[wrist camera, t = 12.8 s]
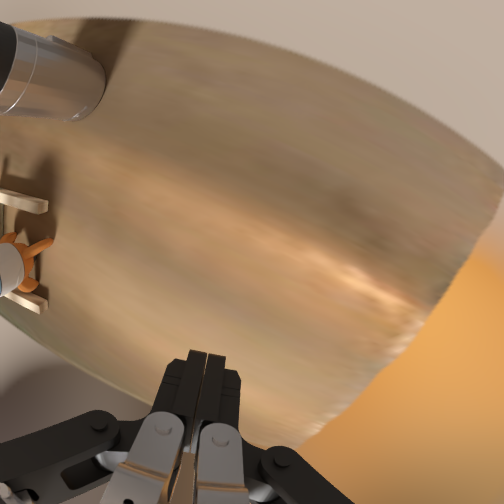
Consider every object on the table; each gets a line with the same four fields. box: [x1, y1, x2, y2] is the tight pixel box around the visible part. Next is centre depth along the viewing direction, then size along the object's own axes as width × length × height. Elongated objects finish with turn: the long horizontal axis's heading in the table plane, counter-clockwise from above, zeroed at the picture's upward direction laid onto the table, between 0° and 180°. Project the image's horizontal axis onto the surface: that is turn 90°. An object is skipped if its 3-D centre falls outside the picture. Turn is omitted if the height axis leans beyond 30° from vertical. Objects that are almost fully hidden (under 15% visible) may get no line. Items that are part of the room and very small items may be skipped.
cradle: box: [0, 188, 48, 314], centre depth 37 cm, size 13×18×5 cm
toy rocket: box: [0, 232, 53, 297], centre depth 34 cm, size 10×11×15 cm
